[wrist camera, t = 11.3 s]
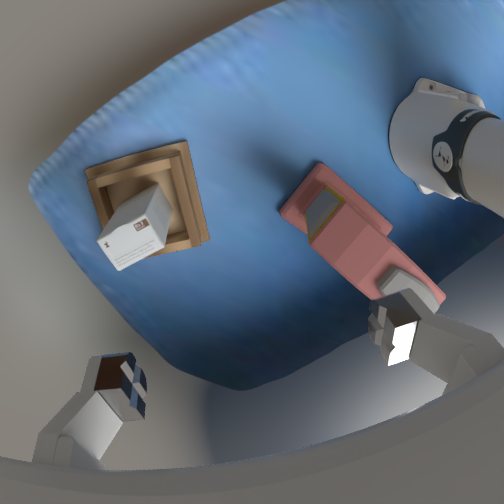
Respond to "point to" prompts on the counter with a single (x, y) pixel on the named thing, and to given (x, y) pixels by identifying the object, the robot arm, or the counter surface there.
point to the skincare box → (137, 227)
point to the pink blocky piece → (355, 238)
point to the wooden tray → (144, 176)
